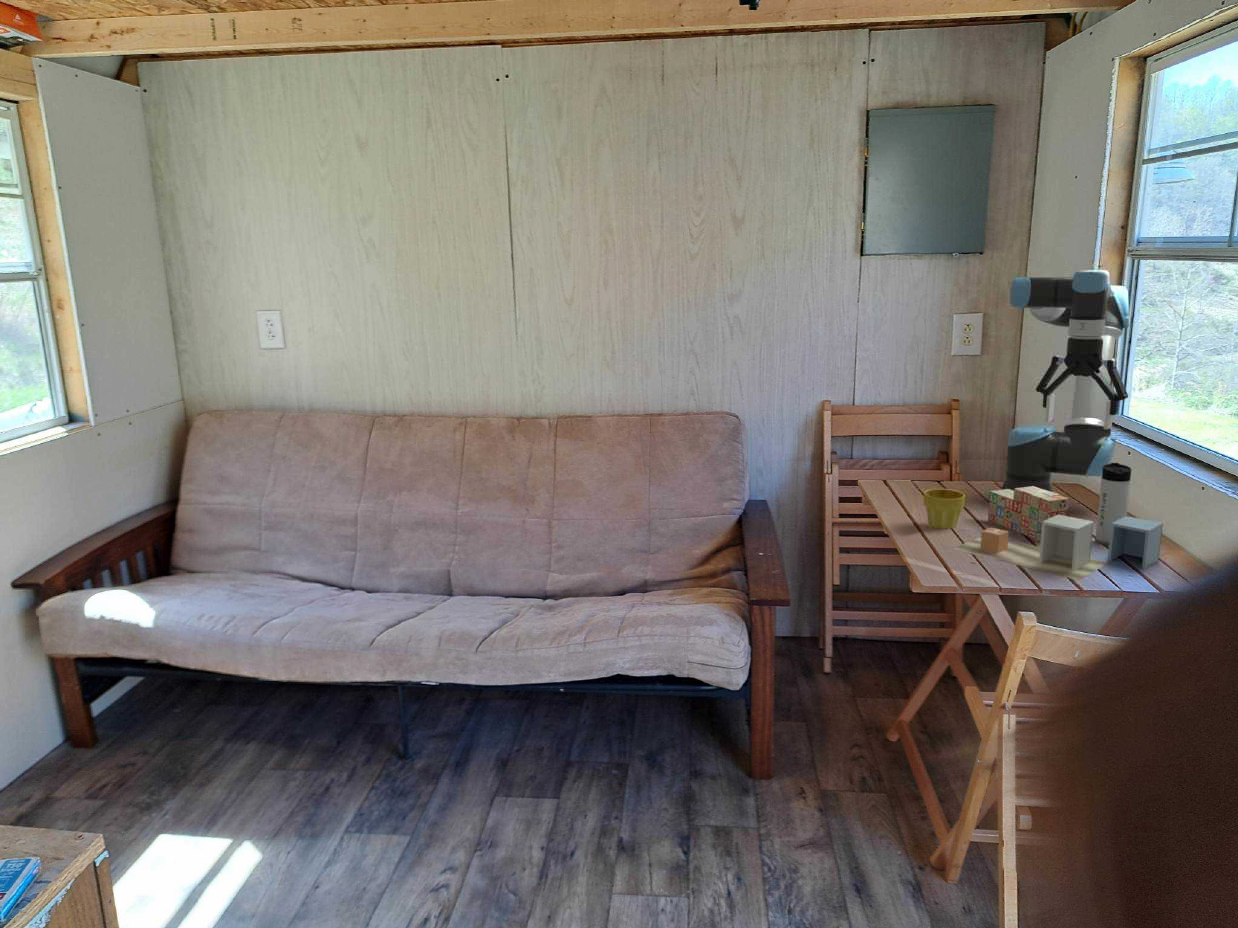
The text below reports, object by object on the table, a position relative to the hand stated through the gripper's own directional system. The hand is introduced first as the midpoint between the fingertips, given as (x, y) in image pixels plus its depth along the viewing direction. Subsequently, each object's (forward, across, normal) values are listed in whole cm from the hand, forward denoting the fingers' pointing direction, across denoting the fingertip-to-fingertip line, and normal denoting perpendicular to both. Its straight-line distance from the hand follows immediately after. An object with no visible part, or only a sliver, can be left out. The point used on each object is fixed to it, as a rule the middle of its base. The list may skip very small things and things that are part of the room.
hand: (1077, 424), depth 214 cm
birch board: (+30, -2, -19) cm, 35 cm away
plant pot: (+31, -28, -10) cm, 43 cm away
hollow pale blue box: (+30, +17, -5) cm, 35 cm away
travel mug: (+31, +7, +7) cm, 32 cm away
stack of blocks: (+31, -11, +1) cm, 33 cm away
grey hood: (+29, +6, -18) cm, 35 cm away
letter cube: (+29, -10, -19) cm, 36 cm away
